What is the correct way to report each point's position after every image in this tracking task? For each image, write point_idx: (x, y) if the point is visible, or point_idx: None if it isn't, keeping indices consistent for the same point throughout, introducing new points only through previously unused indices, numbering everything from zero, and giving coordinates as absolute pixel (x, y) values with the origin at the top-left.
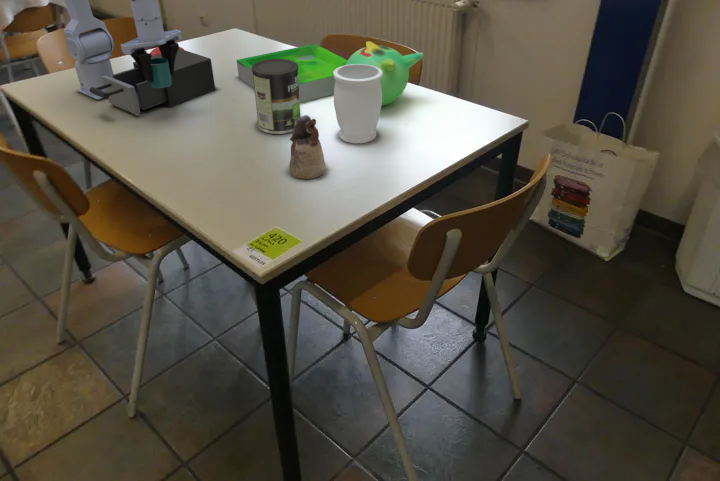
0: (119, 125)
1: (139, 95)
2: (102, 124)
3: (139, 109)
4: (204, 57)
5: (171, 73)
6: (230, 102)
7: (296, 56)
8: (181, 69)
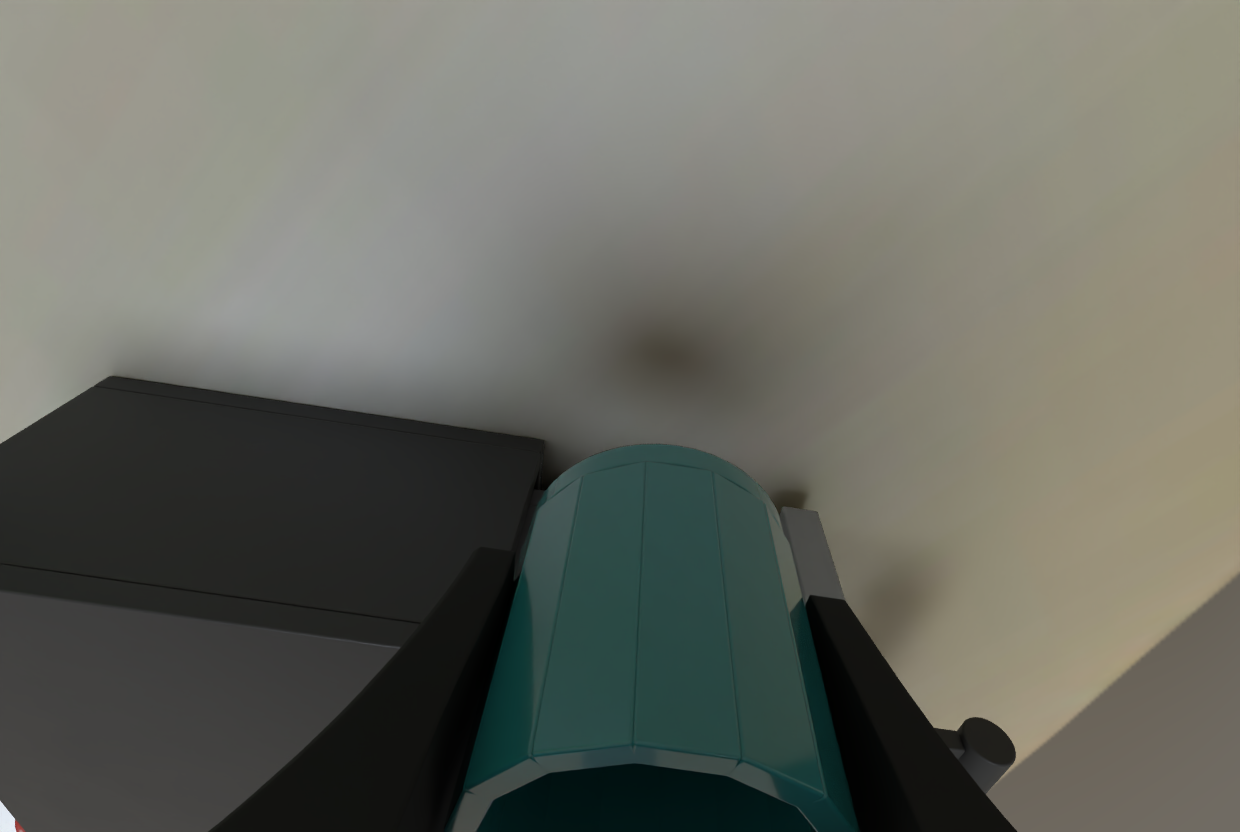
0: (955, 510)
1: None
2: (972, 591)
3: (789, 526)
4: None
5: (508, 568)
6: (116, 63)
7: None
8: (251, 615)
